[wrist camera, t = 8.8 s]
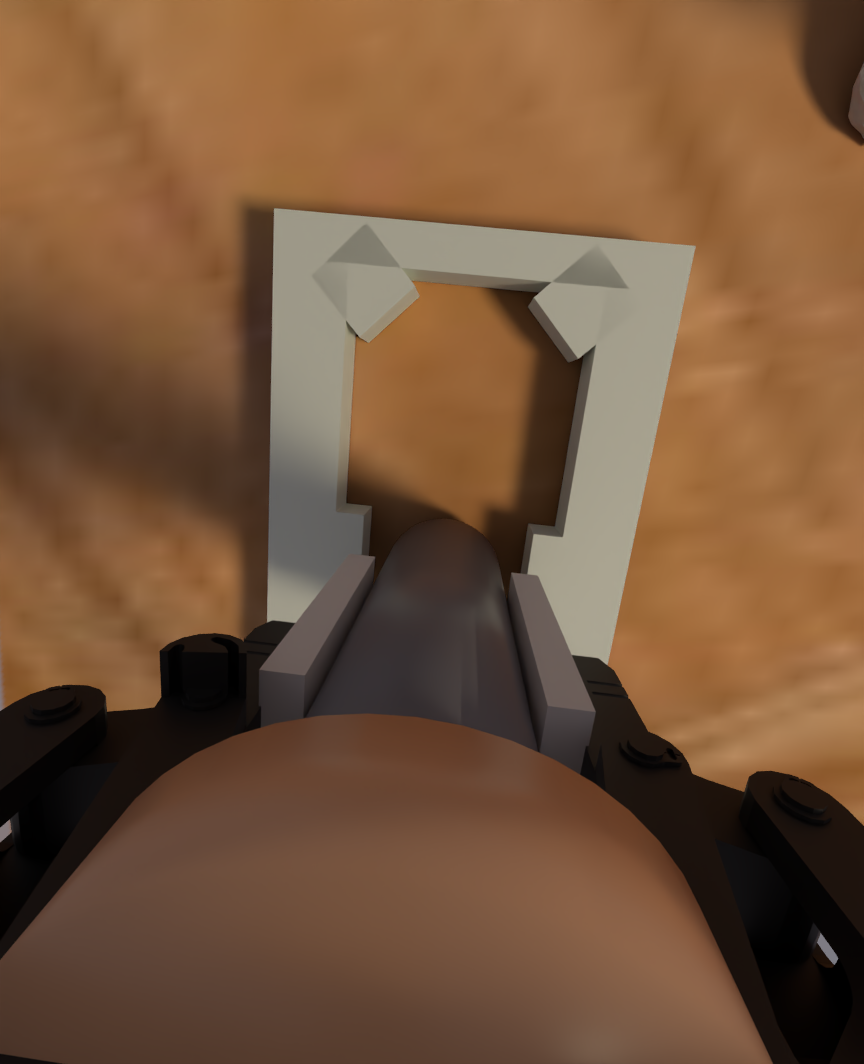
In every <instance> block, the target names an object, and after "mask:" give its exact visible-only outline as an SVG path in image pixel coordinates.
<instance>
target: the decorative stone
mask: <svg viewBox="0 0 864 1064" xmlns="http://www.w3.org/2000/svg"><path fill="white" fill-rule="evenodd" d="M848 118H849V120H850V123H851V124H852V126H853V127H854V128H856V129H857V130H858V131H859V132H860V133H861V134H862V137H863V139H864V63H863V65H862V68H861V70H860V72H859V74H858V77H857V79H856V81H855V84H854V86H853V90H852V98H851V104H850V109H849V114H848Z"/></svg>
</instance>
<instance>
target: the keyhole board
mask: <svg viewBox="0 0 864 1064" xmlns="http://www.w3.org/2000/svg"><path fill="white" fill-rule="evenodd" d="M694 251H695V246H690V245H678V244H667V243H656V242H645V241H634V240H623V239H612V238H600V237H589V236H578V235H567V234H556V233H545V232H534V231H522V230H511V229H500V228H489V227H478V226H467V225H455V224H444V223H433V222H422V221H411V220H400V219H389V218H377V217H366V216H355V215H344V214H333V213H322V212H311V211H299V210H288V209H277V208H274V244H273V303H272V362H271V421H270V480H269V539H268V598H267V622H270V621H272V620H275V621H284V622H292V623H296V622H297V620H298V619H299V618H300V617H301V615H302V614H303V613H304V611H305V610H306V609H307V608H308V606H309V605H310V604H311V602H312V601H313V600H314V599H315V597H316V596H317V595H318V593H319V592H320V591H321V590H322V588H323V587H324V586H325V584H326V583H327V582H328V581H329V579H330V578H331V577H332V575H333V574H334V573H335V572H336V570H337V569H338V568H339V566H340V565H341V564H342V563H343V561H344V560H345V559H346V557H347V556H348V555H349V554H356V555H365V556H369V545H370V531H371V517H372V506H367V505H358V504H349V503H346V497H347V480H348V462H349V445H350V427H351V410H352V392H353V375H354V357H355V340H356V333H357V335H358V336H359V337H360V338H362V339H363V340H365V341H366V342H368V343H369V342H370V341H371V340H373V339H374V338H375V337H376V336H377V335H378V334H379V333H380V332H381V331H382V330H384V329H385V328H386V327H387V326H388V325H389V324H390V323H391V322H392V321H393V320H395V319H396V318H397V317H398V316H399V315H400V314H401V313H402V312H403V311H404V310H406V309H407V308H408V307H409V306H410V305H411V304H412V303H413V302H414V301H415V300H417V299H418V298H419V297H420V296H419V294H418V292H417V289H416V287H415V285H414V284H413V283H412V281H421V282H432V283H442V284H453V285H463V286H474V287H485V288H495V289H506V290H516V291H527V292H538V294H537V295H536V296H535V297H534V298H533V300H532V301H531V303H530V304H529V306H528V308H529V309H530V311H531V312H532V314H533V315H534V316H535V318H536V319H537V320H538V322H539V323H540V325H541V326H542V327H543V329H544V330H545V331H546V333H547V334H548V336H549V337H550V338H551V340H552V341H553V342H554V344H555V345H556V347H557V348H558V349H559V351H560V352H561V353H562V355H563V356H564V358H565V359H566V360H567V362H568V363H569V362H571V361H574V360H577V359H579V358H580V357H581V356H582V355H584V356H583V362H582V368H581V374H580V380H579V386H578V392H577V398H576V404H575V410H574V416H573V422H572V428H571V434H570V440H569V445H568V451H567V457H566V463H565V469H564V475H563V481H562V487H561V493H560V499H559V505H558V511H557V517H556V523H555V526H546V525H537V524H528V528H527V534H526V541H525V547H524V554H523V560H522V567H521V573H520V574H529V575H537V576H538V577H539V579H540V582H541V584H542V586H543V589H544V591H545V593H546V596H547V598H548V601H549V603H550V605H551V608H552V610H553V612H554V615H555V617H556V619H557V622H558V624H559V626H560V629H561V631H562V633H563V636H564V638H565V641H566V643H567V645H568V648H569V650H570V652H571V655H577V656H585V657H593V658H599V659H600V660H601V661H603V662H604V663H605V664H606V665H607V664H608V660H609V655H610V650H611V645H612V641H613V636H614V631H615V626H616V622H617V617H618V612H619V607H620V603H621V598H622V593H623V588H624V584H625V579H626V574H627V569H628V565H629V560H630V555H631V550H632V546H633V541H634V536H635V531H636V527H637V522H638V517H639V512H640V508H641V503H642V498H643V493H644V489H645V484H646V479H647V474H648V470H649V465H650V460H651V455H652V451H653V446H654V441H655V436H656V432H657V427H658V422H659V417H660V413H661V408H662V403H663V398H664V394H665V389H666V384H667V379H668V375H669V370H670V365H671V360H672V356H673V351H674V346H675V341H676V337H677V332H678V327H679V322H680V318H681V313H682V308H683V303H684V299H685V294H686V289H687V284H688V280H689V275H690V270H691V265H692V261H693V256H694Z"/></svg>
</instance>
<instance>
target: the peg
mask: <svg viewBox="0 0 864 1064" xmlns="http://www.w3.org/2000/svg"><path fill="white" fill-rule="evenodd" d="M0 1054H5V1055H12V1056H18V1057H24V1058H31V1059H37V1060H43V1061H50V1062H56V1063H62V1064H773V1062H772V1060H771V1058H770V1056H769V1054H768V1052H767V1050H766V1047H765V1045H764V1043H763V1041H762V1039H761V1037H760V1035H759V1032H758V1030H757V1028H756V1026H755V1024H754V1022H753V1020H752V1018H751V1015H750V1013H749V1011H748V1009H747V1007H746V1005H745V1003H744V1000H743V998H742V996H741V994H740V992H739V990H738V988H737V985H736V983H735V981H734V979H733V977H732V975H731V973H730V970H729V968H728V966H727V964H726V962H725V960H724V958H723V956H722V953H721V951H720V949H719V947H718V945H717V943H716V941H715V938H714V936H713V934H712V932H711V930H710V928H709V926H708V923H707V921H706V919H705V917H704V915H703V913H702V911H701V908H700V906H699V904H698V902H697V901H696V899H695V897H694V895H693V893H692V891H691V889H690V887H689V885H688V883H687V881H686V879H685V877H684V875H683V873H682V872H681V870H680V869H679V868H678V866H677V865H676V864H675V862H674V861H673V859H672V858H671V857H670V855H669V854H668V852H667V851H666V850H665V848H664V847H663V846H662V844H661V843H660V841H659V840H658V839H657V838H656V837H655V836H654V835H653V834H652V833H651V832H650V831H649V830H648V829H647V828H646V827H645V826H644V825H643V824H642V823H641V822H640V821H639V820H638V819H637V818H636V817H635V816H634V815H633V814H632V813H631V812H630V811H629V810H628V809H627V808H626V807H624V806H623V805H622V804H620V803H619V802H618V801H617V800H615V799H614V798H613V797H611V796H610V795H609V794H608V793H606V792H605V791H604V790H603V789H601V788H600V787H599V786H597V785H596V784H595V783H593V782H592V781H590V780H588V779H586V778H585V777H583V776H581V775H580V774H578V773H576V772H575V771H573V770H571V769H570V768H568V767H566V766H565V765H563V764H561V763H560V762H558V761H556V760H554V759H552V758H550V757H548V756H545V755H543V754H541V753H539V752H538V747H537V742H536V738H535V733H534V728H533V724H532V719H531V714H530V709H529V705H528V700H527V695H526V690H525V686H524V681H523V676H522V672H521V667H520V662H519V657H518V653H517V648H516V643H515V639H514V634H513V629H512V624H511V620H510V615H509V610H508V605H507V601H506V596H505V591H504V587H503V582H502V577H501V572H500V568H499V563H498V559H497V556H496V553H495V551H494V549H493V547H492V545H491V544H490V543H489V541H488V540H487V539H486V538H485V537H484V536H483V534H481V533H480V532H479V531H478V530H476V529H475V528H473V527H472V526H470V525H468V524H465V523H463V522H460V521H457V520H452V519H432V520H428V521H424V522H421V523H419V524H417V525H415V526H413V527H411V528H410V529H408V530H407V531H406V532H405V533H403V534H402V535H401V536H400V538H399V539H398V540H397V541H396V543H395V544H394V546H393V547H392V549H391V551H390V553H389V555H388V557H387V559H386V561H385V563H384V565H383V567H382V569H381V571H380V573H379V575H378V577H377V579H376V581H375V583H374V585H373V587H372V588H371V590H370V592H369V594H368V596H367V598H366V600H365V602H364V604H363V606H362V608H361V610H360V612H359V614H358V616H357V618H356V620H355V622H354V624H353V626H352V628H351V630H350V632H349V633H348V635H347V637H346V639H345V641H344V643H343V645H342V647H341V649H340V651H339V653H338V655H337V657H336V659H335V661H334V663H333V665H332V667H331V669H330V671H329V673H328V675H327V676H326V678H325V680H324V682H323V684H322V686H321V688H320V690H319V692H318V694H317V696H316V698H315V700H314V702H313V704H312V706H311V708H310V710H309V712H308V714H307V716H306V718H304V719H298V720H292V721H286V722H280V723H275V724H271V725H268V726H265V727H261V728H258V729H255V730H251V731H248V732H245V733H242V734H238V735H235V736H232V737H230V738H228V739H226V740H223V741H221V742H219V743H217V744H215V745H213V746H210V747H208V748H206V749H204V750H202V751H199V752H197V753H195V754H194V755H192V756H191V757H189V758H187V759H186V760H184V761H183V762H181V763H180V764H178V765H177V766H175V767H173V768H172V769H170V770H169V771H167V772H166V773H164V774H163V775H162V776H160V777H159V778H158V779H157V780H156V781H155V782H154V783H153V784H151V785H150V786H149V787H148V788H147V789H146V790H145V791H143V792H142V793H141V794H140V795H139V796H138V797H137V798H136V799H135V800H134V801H133V802H132V803H131V805H130V806H129V807H128V808H127V809H126V811H125V812H124V813H123V814H122V815H121V816H120V818H119V819H118V820H117V821H116V822H115V824H114V825H113V826H112V827H111V828H110V830H109V831H108V832H107V833H106V834H105V836H104V837H103V838H102V839H101V840H100V842H99V843H98V844H97V845H96V846H95V848H94V849H93V850H92V851H91V852H90V853H89V855H88V856H87V857H86V858H85V859H84V861H83V862H82V863H81V864H80V865H79V867H78V868H77V869H76V870H75V871H74V873H73V874H72V875H71V876H70V877H69V879H68V880H67V881H66V882H65V883H64V884H63V886H62V887H61V888H60V889H59V890H58V892H57V893H56V894H55V895H54V896H53V898H52V899H51V900H50V901H49V902H48V904H47V905H46V906H45V907H44V908H43V910H42V911H41V912H40V913H39V914H38V916H37V917H36V918H35V919H34V920H33V921H32V923H31V924H30V925H29V926H28V927H27V929H26V930H25V931H24V932H23V933H22V935H21V936H20V937H19V938H18V939H17V941H16V942H15V943H14V944H13V945H12V947H11V948H10V949H9V950H8V951H7V952H6V954H5V955H4V956H3V957H2V958H1V960H0Z"/></svg>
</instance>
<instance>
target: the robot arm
mask: <svg viewBox="0 0 864 1064" xmlns="http://www.w3.org/2000/svg"><path fill="white" fill-rule="evenodd" d="M374 567H375V557H373V556H365V555H356V554H349V555H348V556H347V557H346V559H345V560H344V561H343V563H342V564H341V565H340V566H339V568H338V569H337V570H336V572H335V573H334V574H333V575H332V577H331V578H330V579H329V581H328V582H327V583H326V584H325V586H324V587H323V588H322V590H321V591H320V592H319V593H318V595H317V596H316V597H315V599H314V600H313V601H312V602H311V604H310V605H309V606H308V608H307V609H306V610H305V611H304V613H303V614H302V615H301V617H300V618H299V619H298V620H297V622H296V623H292V622H284V621H275V620H272V621H270V622H267V623H265V624H263V625H261V626H259V627H257V628H255V629H254V630H253V631H252V632H251V633H250V634H249V635H248V636H247V637H246V638H245V639H244V642H243V641H242V640H241V639H239V638H236V637H233V636H231V635H225V634H217V633H213V634H198V635H193V636H189V637H184V638H181V639H179V640H176V641H174V642H172V643H169V644H168V645H167V646H165V647H164V648H163V649H162V650H160V672H161V696H162V697H161V699H160V700H159V702H158V703H157V705H156V706H155V707H154V708H147V709H137V710H124V711H110V712H107V707H106V696H105V695H104V694H103V693H102V691H101V690H100V689H97V688H94V687H91V686H85V685H62V686H55V687H50V688H48V689H46V690H43V691H39V692H36V693H33V694H30V695H28V696H26V697H24V698H22V699H20V700H18V701H16V702H14V703H12V704H11V705H9V706H8V707H6V708H4V709H3V710H1V711H0V827H1V826H2V825H4V824H5V823H6V822H7V821H8V820H9V819H10V822H11V830H12V833H11V834H9V835H8V836H7V837H6V838H5V839H4V840H3V841H2V842H0V960H1V958H2V957H3V956H4V955H5V954H6V952H7V951H8V950H9V949H10V948H11V947H12V945H13V944H14V943H15V942H16V941H17V939H18V938H19V937H20V936H21V935H22V933H23V932H24V931H25V930H26V929H27V927H28V926H29V925H30V924H31V923H32V921H33V920H34V919H35V918H36V917H37V916H38V914H39V913H40V912H41V911H42V910H43V908H44V907H45V906H46V905H47V904H48V902H49V901H50V900H51V899H52V898H53V896H54V895H55V894H56V893H57V892H58V890H59V889H60V888H61V887H62V886H63V884H64V883H65V882H66V881H67V880H68V879H69V877H70V876H71V875H72V874H73V873H74V871H75V870H76V869H77V868H78V867H79V865H80V864H81V863H82V862H83V861H84V859H85V858H86V857H87V856H88V855H89V853H90V852H91V851H92V850H93V849H94V848H95V846H96V845H97V844H98V843H99V842H100V840H101V839H102V838H103V837H104V836H105V834H106V833H107V832H108V831H109V830H110V828H111V827H112V826H113V825H114V824H115V822H116V821H117V820H118V819H119V818H120V816H121V815H122V814H123V813H124V812H125V811H126V809H127V808H128V807H129V806H130V805H131V803H132V802H133V801H134V800H135V799H136V798H137V797H138V796H139V795H140V794H141V793H142V792H143V791H145V790H146V789H147V788H148V787H149V786H150V785H151V784H153V783H154V782H155V781H156V780H157V779H158V778H159V777H160V776H162V775H163V774H164V773H166V772H167V771H169V770H170V769H172V768H173V767H175V766H177V765H178V764H180V763H181V762H183V761H184V760H186V759H187V758H189V757H191V756H192V755H194V754H195V753H197V752H199V751H202V750H204V749H206V748H208V747H210V746H213V745H215V744H217V743H219V742H221V741H223V740H226V739H228V738H230V737H232V736H235V735H238V734H242V733H245V732H248V731H251V730H255V729H258V728H261V727H265V726H268V725H271V724H275V723H280V722H286V721H292V720H298V719H304V718H306V716H307V714H308V712H309V710H310V708H311V706H312V704H313V702H314V700H315V698H316V696H317V694H318V692H319V690H320V688H321V686H322V684H323V682H324V680H325V678H326V676H327V675H328V673H329V671H330V669H331V667H332V665H333V663H334V661H335V659H336V657H337V655H338V653H339V651H340V649H341V647H342V645H343V643H344V641H345V639H346V637H347V635H348V633H349V632H350V630H351V628H352V626H353V624H354V622H355V620H356V618H357V616H358V614H359V612H360V610H361V608H362V606H363V604H364V602H365V600H366V598H367V596H368V594H369V592H370V590H371V588H372V587H373V580H374ZM507 605H508V610H509V615H510V620H511V624H512V629H513V634H514V639H515V643H516V648H517V653H518V657H519V662H520V667H521V672H522V676H523V681H524V686H525V690H526V695H527V700H528V705H529V709H530V714H531V719H532V724H533V728H534V733H535V738H536V742H537V747H538V752H539V753H541V754H543V755H545V756H548V757H550V758H552V759H554V760H556V761H558V762H560V763H561V764H563V765H565V766H566V767H568V768H570V769H571V770H573V771H575V772H576V773H578V774H580V775H581V776H583V777H585V778H586V779H588V780H590V781H592V782H593V783H595V784H596V785H597V786H599V787H600V788H601V789H603V790H604V791H605V792H606V793H608V794H609V795H610V796H611V797H613V798H614V799H615V800H617V801H618V802H619V803H620V804H622V805H623V806H624V807H626V808H627V809H628V810H629V811H630V812H631V813H632V814H633V815H634V816H635V817H636V818H637V819H638V820H639V821H640V822H641V823H642V824H643V825H644V826H645V827H646V828H647V829H648V830H649V831H650V832H651V833H652V834H653V835H654V836H655V837H656V838H657V839H658V840H659V841H660V843H661V844H662V846H663V847H664V848H665V850H666V851H667V852H668V854H669V855H670V857H671V858H672V859H673V861H674V862H675V864H676V865H677V866H678V868H679V869H680V870H681V872H682V873H683V875H684V877H685V879H686V881H687V883H688V885H689V887H690V889H691V891H692V893H693V895H694V897H695V899H696V901H697V902H698V904H699V906H700V908H701V911H702V913H703V915H704V917H705V919H706V921H707V923H708V926H709V928H710V930H711V932H712V934H713V936H714V938H715V941H716V943H717V945H718V947H719V949H720V951H721V953H722V956H723V958H724V960H725V962H726V964H727V966H728V968H729V970H730V973H731V975H732V977H733V979H734V981H735V983H736V985H737V988H738V990H739V992H740V994H741V996H742V998H743V1000H744V1003H745V1005H746V1007H747V1009H748V1011H749V1013H750V1015H751V1018H752V1020H753V1022H754V1024H755V1026H756V1028H757V1030H758V1032H759V1035H760V1037H761V1039H762V1041H763V1043H764V1045H765V1047H766V1050H767V1052H768V1054H769V1056H770V1058H771V1060H772V1062H773V1064H864V826H863V825H862V824H861V823H860V822H859V821H858V820H857V819H856V818H855V817H854V816H853V815H852V814H851V813H850V812H849V811H848V810H847V809H846V808H845V807H844V806H843V805H842V804H840V803H839V802H838V801H837V800H835V799H834V798H833V797H832V796H831V795H829V794H828V793H826V792H824V791H823V790H821V789H819V788H817V787H816V786H814V785H813V784H812V783H810V782H808V781H805V780H803V779H799V778H798V777H795V776H792V775H789V774H783V773H779V772H774V771H758V772H756V773H754V774H753V775H751V776H749V778H748V782H747V785H746V788H745V791H744V792H742V791H739V790H736V789H733V788H730V787H727V786H724V785H721V784H718V783H715V782H712V781H709V780H706V779H704V778H701V777H699V776H696V775H694V774H692V772H691V769H690V766H689V764H688V762H687V760H686V759H685V757H684V755H683V754H682V753H681V752H680V751H679V750H678V749H677V748H676V747H674V746H673V745H672V744H671V743H670V742H668V741H666V740H664V739H663V738H661V737H659V736H657V735H655V734H653V733H650V732H648V730H647V729H646V727H645V725H644V723H643V721H642V720H641V718H640V716H639V714H638V713H637V711H636V709H635V707H634V705H633V704H632V702H631V700H630V699H628V695H627V693H626V691H625V689H624V688H623V687H622V684H621V682H620V680H619V679H618V677H617V675H616V673H615V671H614V670H612V669H611V668H610V667H609V666H608V665H606V664H605V663H604V662H603V661H601V660H600V659H599V658H593V657H585V656H577V655H571V652H570V650H569V648H568V645H567V643H566V641H565V638H564V636H563V633H562V631H561V629H560V626H559V624H558V622H557V619H556V617H555V615H554V612H553V610H552V608H551V605H550V603H549V601H548V598H547V596H546V593H545V591H544V589H543V586H542V584H541V582H540V579H539V577H538V576H537V575H529V574H520V573H511V579H510V585H509V592H508V599H507ZM820 933H821V934H822V935H823V936H824V938H825V939H826V941H827V942H828V943H829V945H830V946H831V948H832V949H833V950H834V952H835V953H836V955H837V956H838V960H837V963H836V964H835V965H834V964H833V963H832V962H831V961H830V960H829V959H828V958H827V956H826V955H825V954H824V952H823V951H822V950H821V948H820V946H819V945H818V943H817V941H818V938H819V936H820ZM0 1064H62V1063H56V1062H50V1061H43V1060H37V1059H31V1058H24V1057H18V1056H12V1055H5V1054H0Z"/></svg>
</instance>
